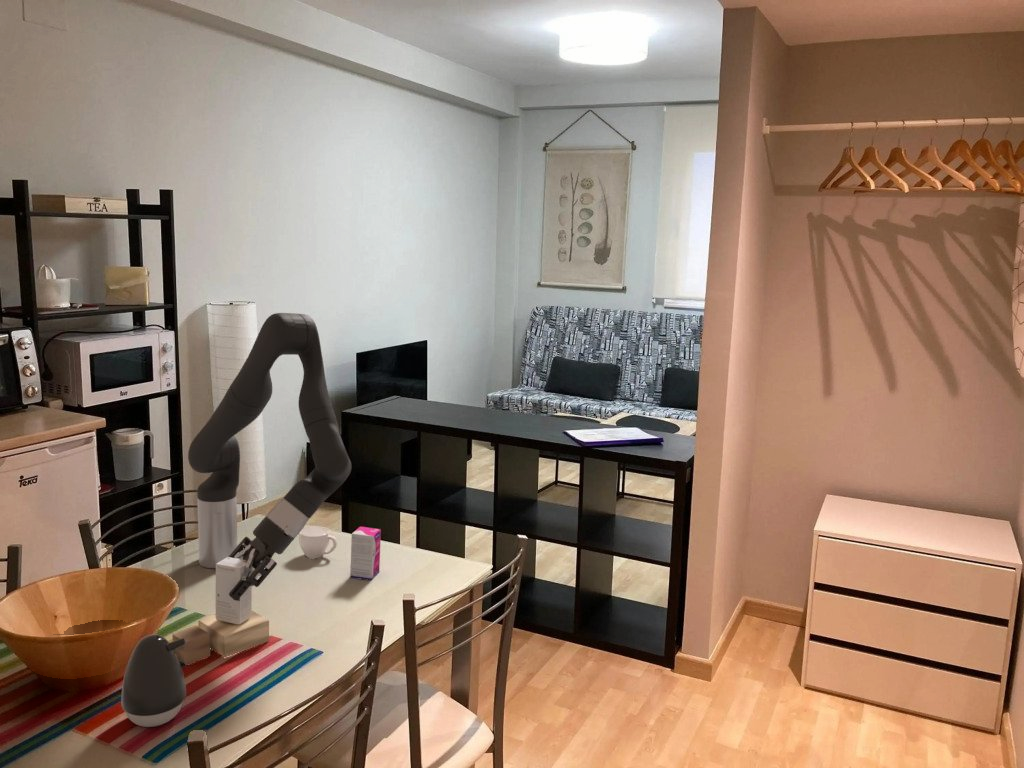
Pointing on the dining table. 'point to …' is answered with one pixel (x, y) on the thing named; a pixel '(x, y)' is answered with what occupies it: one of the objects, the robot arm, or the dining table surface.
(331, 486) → the robot arm
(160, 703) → the pump dispenser
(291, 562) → the dining table surface
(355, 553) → the supplement box
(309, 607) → the dining table surface
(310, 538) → the cup
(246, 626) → the beech block
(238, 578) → the skincare box
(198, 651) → the tan wooden cube
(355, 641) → the dining table surface
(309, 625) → the dining table surface
